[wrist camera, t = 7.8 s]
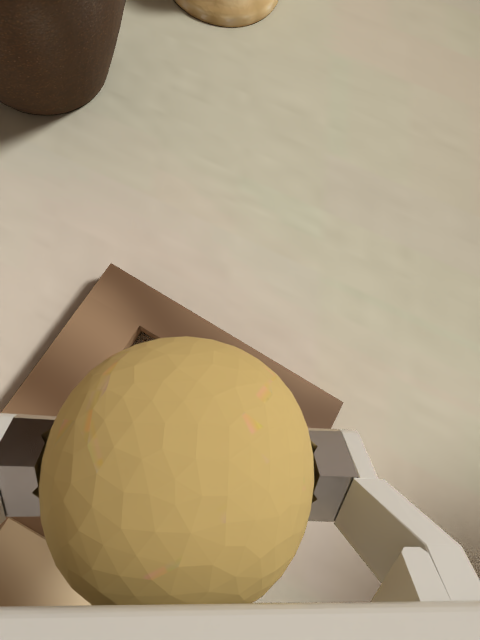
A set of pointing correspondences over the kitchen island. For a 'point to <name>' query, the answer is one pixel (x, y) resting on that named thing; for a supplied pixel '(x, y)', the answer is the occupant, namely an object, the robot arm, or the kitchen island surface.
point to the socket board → (68, 371)
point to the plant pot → (55, 52)
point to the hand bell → (228, 11)
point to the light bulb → (176, 477)
